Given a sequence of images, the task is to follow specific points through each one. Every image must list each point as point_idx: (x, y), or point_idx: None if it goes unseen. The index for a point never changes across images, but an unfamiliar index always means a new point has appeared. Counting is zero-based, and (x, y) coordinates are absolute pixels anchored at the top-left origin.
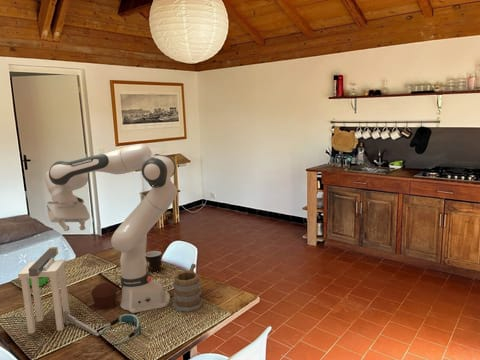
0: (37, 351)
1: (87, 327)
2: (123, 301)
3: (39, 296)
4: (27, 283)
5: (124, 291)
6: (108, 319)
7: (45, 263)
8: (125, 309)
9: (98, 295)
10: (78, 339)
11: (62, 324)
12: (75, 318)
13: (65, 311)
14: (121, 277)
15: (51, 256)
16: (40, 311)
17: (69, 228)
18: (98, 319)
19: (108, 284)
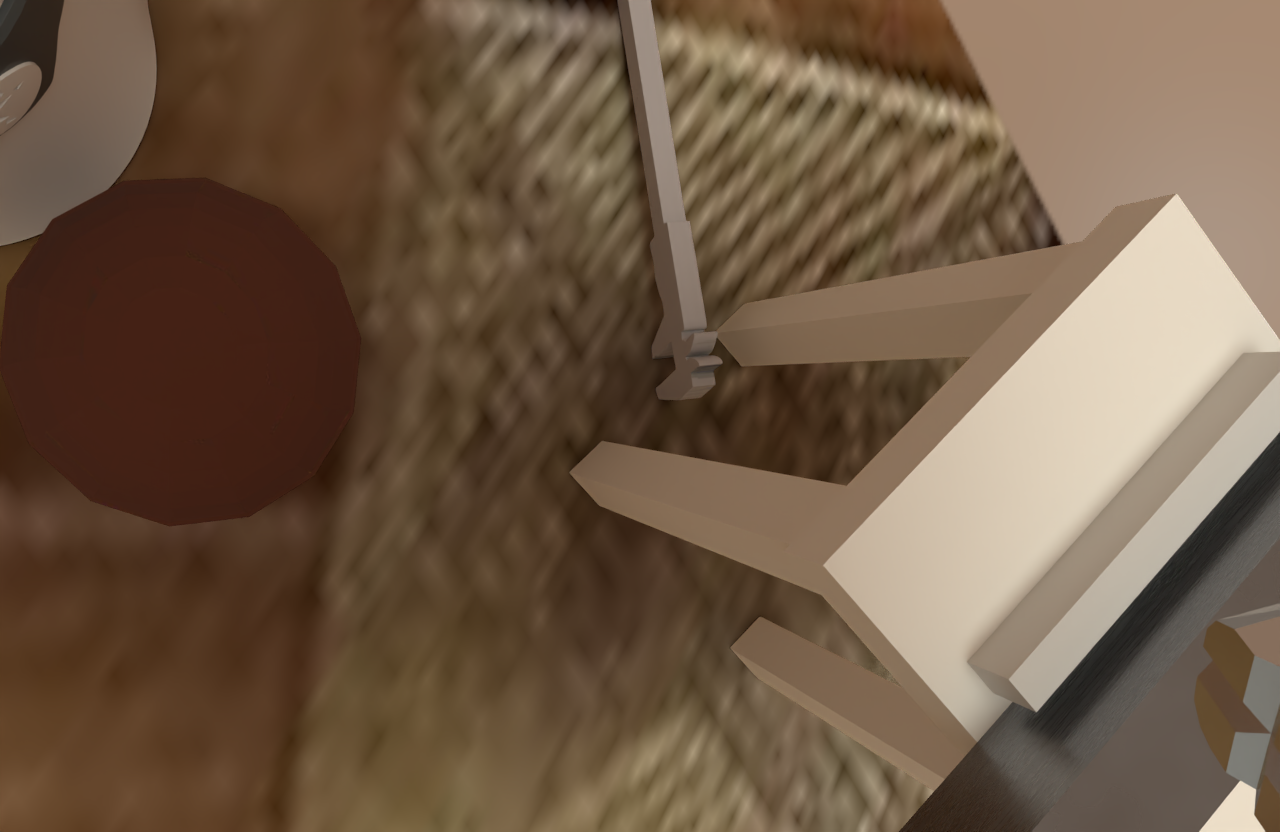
0: (993, 199)
1: (652, 52)
2: (120, 71)
3: (863, 693)
4: None
5: (76, 10)
6: (393, 65)
7: (1217, 533)
8: (153, 41)
9: (329, 288)
10: (748, 44)
11: (745, 316)
12: (673, 227)
13: (712, 359)
14: (14, 5)
15: (1009, 784)
16: (803, 638)
17: (1241, 633)
18: (450, 160)
19: (129, 292)
